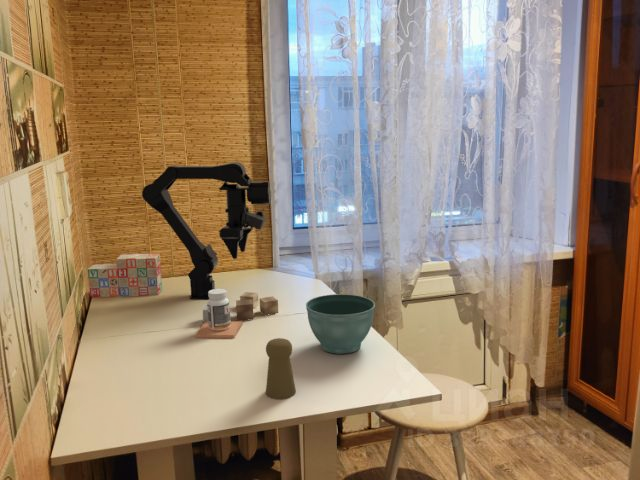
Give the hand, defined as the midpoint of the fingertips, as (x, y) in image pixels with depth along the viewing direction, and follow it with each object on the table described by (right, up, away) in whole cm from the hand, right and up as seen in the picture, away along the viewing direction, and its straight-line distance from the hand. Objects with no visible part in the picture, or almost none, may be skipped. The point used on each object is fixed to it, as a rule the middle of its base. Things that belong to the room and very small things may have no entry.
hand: (239, 255), depth 180 cm
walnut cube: (+4, -17, -17) cm, 25 cm away
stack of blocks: (-37, -13, +8) cm, 40 cm away
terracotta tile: (-1, -19, -27) cm, 33 cm away
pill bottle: (-1, -18, -27) cm, 33 cm away
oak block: (+10, -16, -13) cm, 23 cm away
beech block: (+4, -15, -9) cm, 18 cm away
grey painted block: (-5, -18, -20) cm, 27 cm away
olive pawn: (+17, -26, -62) cm, 69 cm away
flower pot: (+30, -21, -40) cm, 54 cm away
